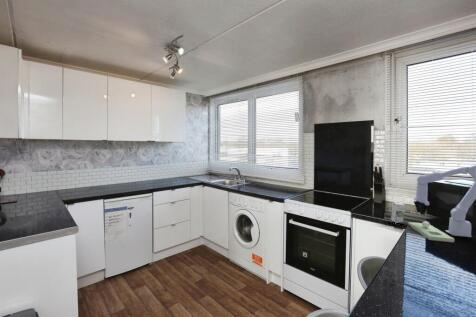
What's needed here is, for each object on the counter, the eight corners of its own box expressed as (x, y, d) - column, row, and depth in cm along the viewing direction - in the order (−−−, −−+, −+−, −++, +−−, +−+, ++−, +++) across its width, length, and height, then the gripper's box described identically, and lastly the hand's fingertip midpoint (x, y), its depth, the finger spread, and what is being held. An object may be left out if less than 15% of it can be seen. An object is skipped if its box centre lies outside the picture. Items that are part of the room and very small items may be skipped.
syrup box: (398, 222, 163) (399, 202, 162) (404, 224, 157) (405, 204, 156) (390, 221, 163) (391, 201, 162) (395, 224, 157) (396, 203, 157)
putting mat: (428, 226, 153) (428, 223, 153) (454, 242, 128) (454, 238, 128) (408, 224, 157) (408, 222, 156) (429, 239, 131) (429, 236, 131)
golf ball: (427, 226, 148) (428, 220, 147) (431, 228, 144) (431, 222, 144) (420, 226, 149) (420, 220, 148) (423, 228, 145) (424, 222, 145)
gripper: (409, 190, 160) (408, 209, 161) (420, 195, 146) (419, 215, 147) (421, 191, 158) (420, 210, 159) (433, 195, 144) (432, 216, 145)
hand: (420, 213), depth 153 cm, fingers open, 4 cm apart
